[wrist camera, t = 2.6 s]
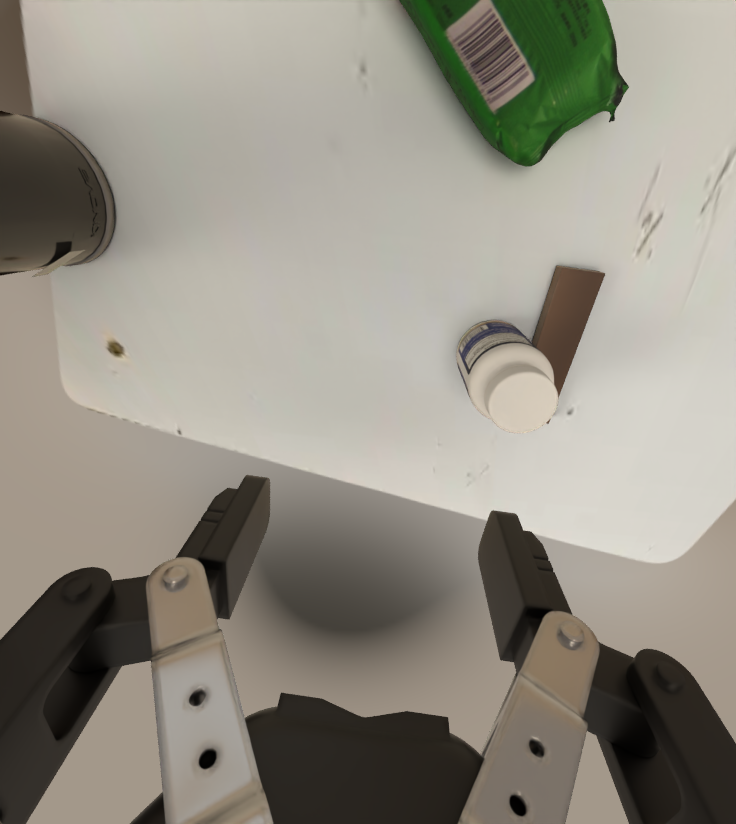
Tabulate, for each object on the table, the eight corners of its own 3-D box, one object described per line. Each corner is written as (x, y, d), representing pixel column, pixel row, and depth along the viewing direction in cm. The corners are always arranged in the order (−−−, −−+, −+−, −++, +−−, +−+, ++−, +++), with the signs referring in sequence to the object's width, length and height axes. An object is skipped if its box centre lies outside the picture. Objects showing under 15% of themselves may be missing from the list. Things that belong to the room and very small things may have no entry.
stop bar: (509, 412, 34) (512, 418, 33) (556, 265, 29) (562, 267, 28) (544, 417, 34) (548, 423, 33) (598, 271, 29) (605, 273, 27)
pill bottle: (520, 382, 33) (564, 443, 24) (454, 384, 33) (473, 445, 25) (528, 316, 30) (579, 359, 22) (456, 320, 31) (478, 362, 22)
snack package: (506, 193, 27) (529, 189, 22) (355, -52, 22) (344, -123, 17) (607, 108, 24) (657, 84, 20) (463, -188, 20) (484, -311, 15)
